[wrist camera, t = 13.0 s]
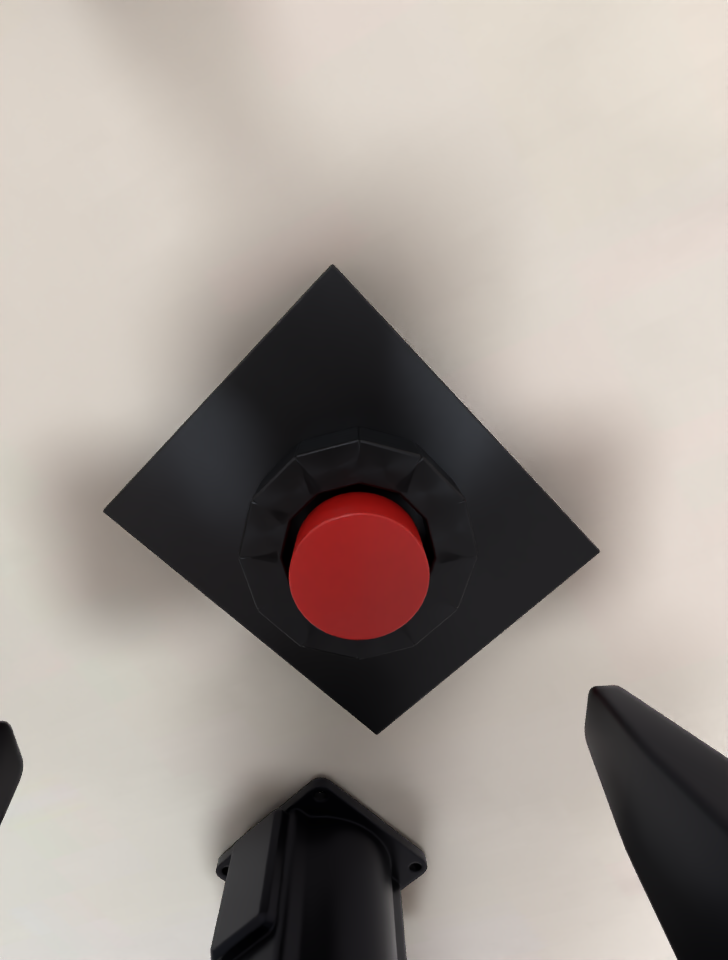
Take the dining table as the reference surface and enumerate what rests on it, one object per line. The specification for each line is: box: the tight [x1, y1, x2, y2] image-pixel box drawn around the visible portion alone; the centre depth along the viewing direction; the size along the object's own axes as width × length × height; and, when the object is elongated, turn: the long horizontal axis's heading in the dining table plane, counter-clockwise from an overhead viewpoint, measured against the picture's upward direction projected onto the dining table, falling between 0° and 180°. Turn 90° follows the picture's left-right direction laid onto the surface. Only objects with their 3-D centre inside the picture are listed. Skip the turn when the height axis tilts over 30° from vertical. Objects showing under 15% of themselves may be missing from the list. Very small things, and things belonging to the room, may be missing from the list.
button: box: [289, 492, 430, 640], centre depth 14 cm, size 4×4×2 cm
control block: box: [103, 264, 600, 734], centre depth 16 cm, size 12×10×4 cm
